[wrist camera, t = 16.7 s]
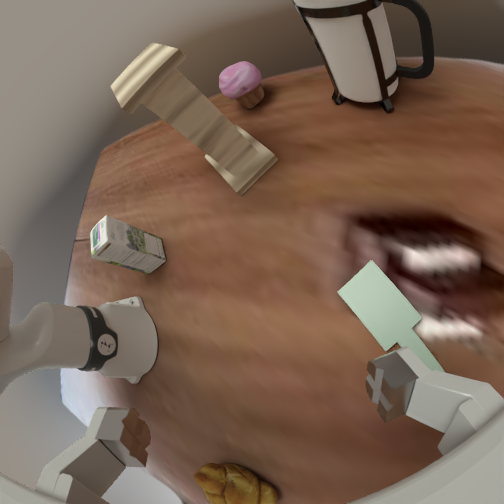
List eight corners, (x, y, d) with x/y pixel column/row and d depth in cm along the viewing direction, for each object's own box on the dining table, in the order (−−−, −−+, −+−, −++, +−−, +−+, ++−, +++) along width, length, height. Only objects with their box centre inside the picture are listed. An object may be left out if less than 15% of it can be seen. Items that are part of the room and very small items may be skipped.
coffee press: (352, 133, 38) (273, -36, 13) (318, 80, 44) (243, -43, 19) (437, 103, 32) (415, -60, 6) (390, 55, 38) (346, -71, 12)
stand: (278, 159, 44) (178, 49, 22) (241, 196, 46) (121, 108, 24) (240, 128, 50) (151, 42, 28) (208, 160, 52) (110, 86, 30)
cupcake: (232, 102, 54) (206, 74, 46) (263, 80, 51) (240, 50, 43) (246, 121, 50) (218, 90, 42) (280, 97, 48) (257, 63, 39)
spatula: (465, 377, 23) (468, 380, 21) (430, 409, 24) (432, 412, 23) (372, 262, 33) (371, 259, 32) (339, 293, 34) (337, 292, 33)
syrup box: (144, 251, 55) (88, 232, 43) (162, 236, 53) (104, 213, 41) (149, 274, 53) (89, 259, 40) (168, 260, 51) (106, 240, 39)
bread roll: (289, 481, 29) (266, 507, 23) (271, 514, 28) (248, 538, 21) (221, 449, 36) (190, 465, 29) (210, 483, 35) (181, 499, 28)
